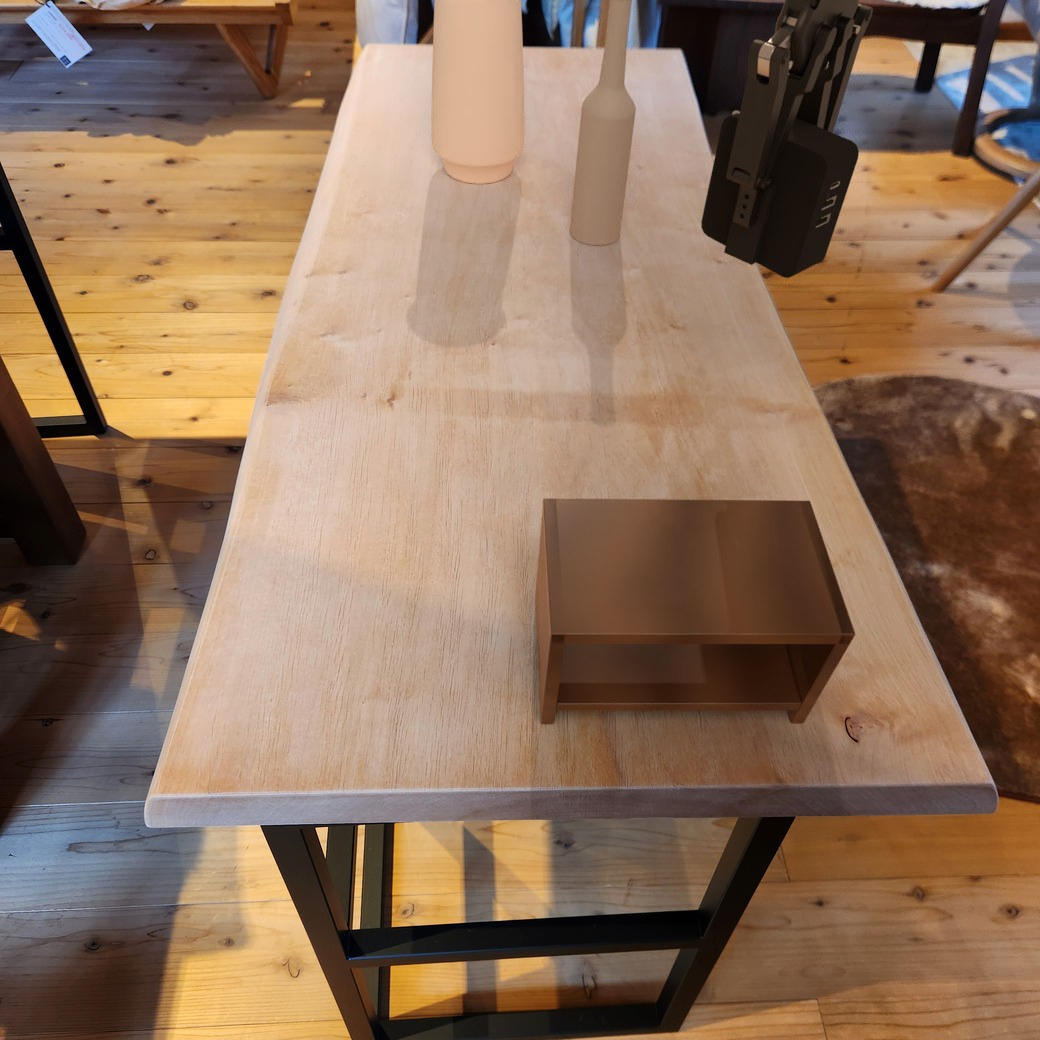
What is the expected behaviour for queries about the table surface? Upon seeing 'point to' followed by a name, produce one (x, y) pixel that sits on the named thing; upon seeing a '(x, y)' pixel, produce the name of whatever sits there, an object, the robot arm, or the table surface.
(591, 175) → the bottle
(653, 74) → the table surface
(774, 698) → the shelf
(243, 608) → the table surface
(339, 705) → the table surface
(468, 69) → the vase
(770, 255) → the electronic device
